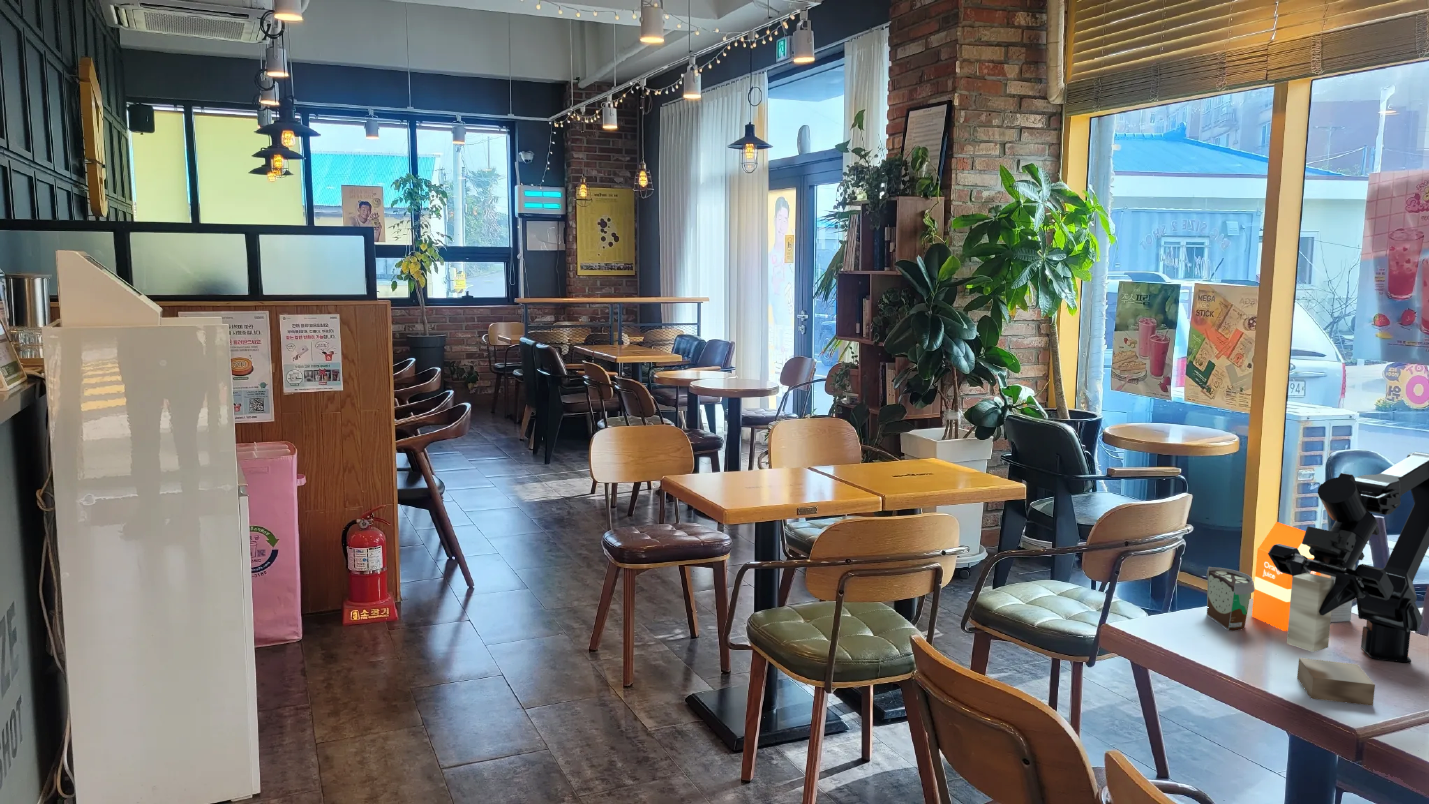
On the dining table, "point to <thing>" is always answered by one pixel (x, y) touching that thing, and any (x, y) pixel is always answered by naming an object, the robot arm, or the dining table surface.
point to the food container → (1228, 597)
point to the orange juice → (1276, 577)
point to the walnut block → (1335, 681)
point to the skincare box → (1341, 607)
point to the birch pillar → (1309, 612)
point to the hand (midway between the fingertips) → (1306, 609)
